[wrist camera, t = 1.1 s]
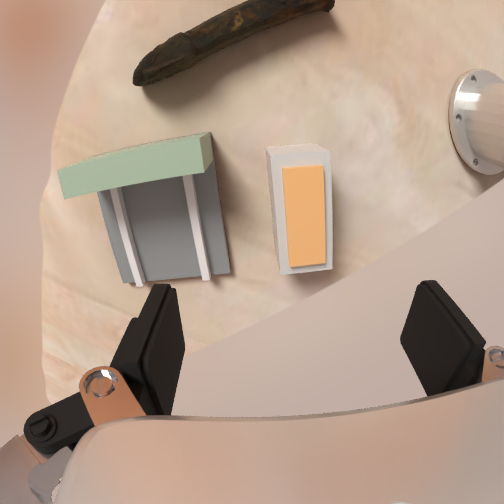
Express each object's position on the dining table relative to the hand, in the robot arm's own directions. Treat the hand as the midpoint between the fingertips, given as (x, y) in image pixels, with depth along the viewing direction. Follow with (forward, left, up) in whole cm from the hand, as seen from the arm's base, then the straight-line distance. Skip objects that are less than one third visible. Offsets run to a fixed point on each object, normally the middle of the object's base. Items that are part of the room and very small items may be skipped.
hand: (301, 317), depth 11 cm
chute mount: (+11, +1, -19) cm, 22 cm away
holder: (-2, +1, -20) cm, 20 cm away
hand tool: (+2, -15, -20) cm, 25 cm away
